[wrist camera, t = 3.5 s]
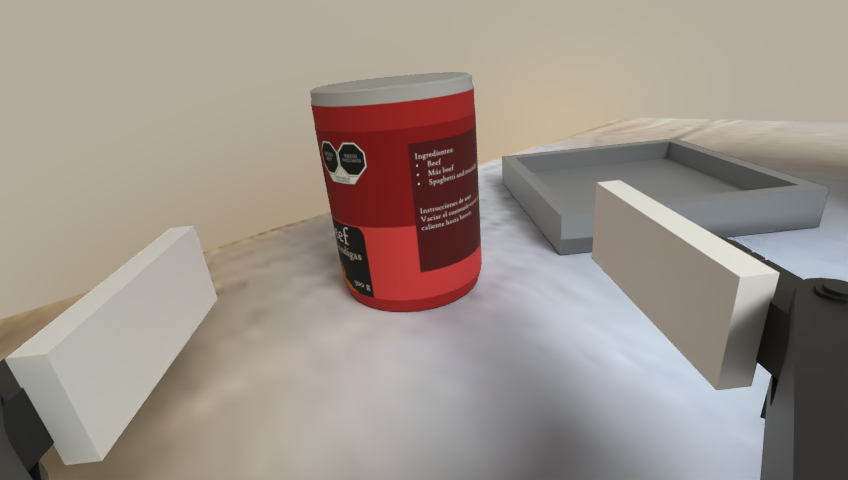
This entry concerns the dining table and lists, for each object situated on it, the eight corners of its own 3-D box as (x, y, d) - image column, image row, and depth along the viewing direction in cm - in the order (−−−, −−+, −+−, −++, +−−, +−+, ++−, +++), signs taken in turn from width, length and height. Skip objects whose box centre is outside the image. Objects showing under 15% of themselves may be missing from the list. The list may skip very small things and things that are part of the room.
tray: (671, 165, 42) (674, 138, 41) (818, 227, 27) (829, 187, 26) (502, 183, 42) (502, 156, 41) (560, 255, 27) (561, 216, 26)
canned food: (356, 256, 30) (327, 82, 25) (476, 247, 29) (467, 69, 25) (332, 321, 23) (286, 96, 18) (489, 310, 22) (480, 78, 18)
